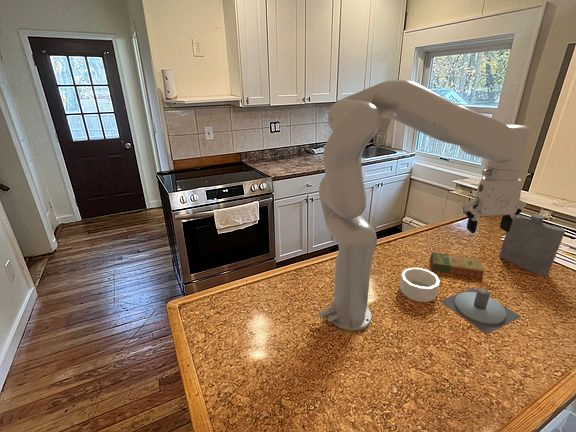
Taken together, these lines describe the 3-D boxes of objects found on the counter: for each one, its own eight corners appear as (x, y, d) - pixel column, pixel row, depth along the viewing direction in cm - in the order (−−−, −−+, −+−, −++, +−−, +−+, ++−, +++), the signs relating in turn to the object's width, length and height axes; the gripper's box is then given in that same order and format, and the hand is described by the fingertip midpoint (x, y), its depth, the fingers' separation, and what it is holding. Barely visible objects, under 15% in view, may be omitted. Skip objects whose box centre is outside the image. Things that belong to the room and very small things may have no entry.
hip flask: (549, 274, 106) (570, 222, 97) (544, 277, 104) (564, 225, 96) (502, 253, 118) (516, 206, 110) (496, 256, 117) (510, 209, 108)
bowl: (417, 308, 92) (420, 292, 89) (392, 288, 101) (394, 273, 99) (443, 297, 96) (447, 282, 93) (417, 279, 105) (419, 264, 103)
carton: (481, 280, 104) (484, 270, 102) (430, 272, 109) (432, 262, 107) (477, 267, 111) (480, 257, 109) (429, 260, 116) (431, 251, 114)
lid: (485, 330, 82) (490, 313, 80) (445, 302, 93) (448, 286, 91) (515, 315, 87) (521, 298, 85) (473, 290, 98) (477, 274, 96)
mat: (485, 335, 81) (486, 334, 81) (439, 302, 94) (440, 300, 94) (520, 318, 87) (521, 316, 87) (472, 288, 99) (473, 287, 99)
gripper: (478, 179, 77) (464, 238, 84) (545, 176, 77) (526, 235, 84) (462, 171, 84) (451, 226, 91) (524, 168, 84) (508, 223, 91)
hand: (487, 230), depth 87 cm, fingers open, 9 cm apart
